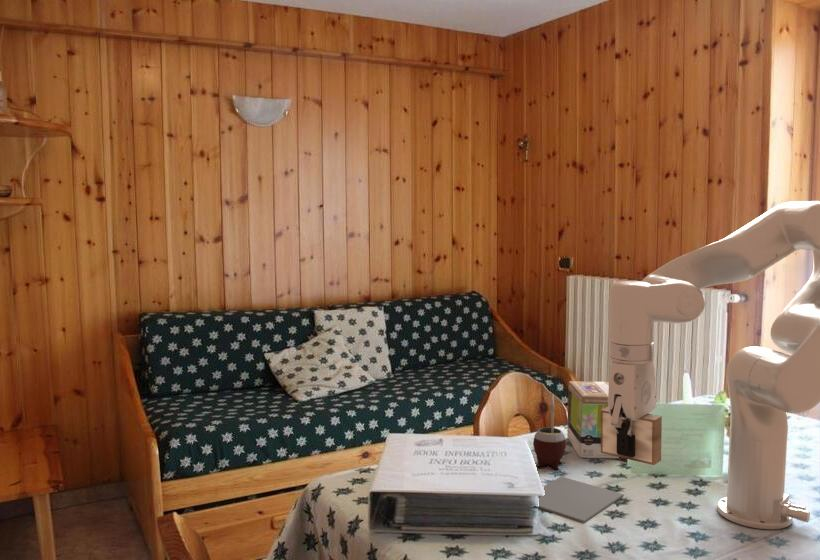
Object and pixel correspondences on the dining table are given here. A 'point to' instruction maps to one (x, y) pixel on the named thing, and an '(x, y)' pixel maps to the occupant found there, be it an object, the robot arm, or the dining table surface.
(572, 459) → the dining table surface
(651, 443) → the slab
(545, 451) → the mate gourd
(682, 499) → the dining table surface
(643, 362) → the robot arm
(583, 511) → the mat
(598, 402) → the tea box
